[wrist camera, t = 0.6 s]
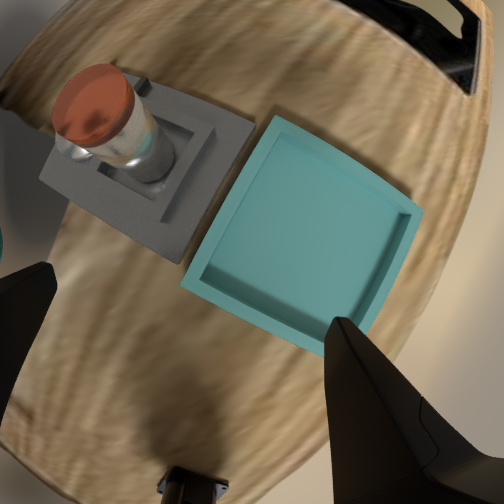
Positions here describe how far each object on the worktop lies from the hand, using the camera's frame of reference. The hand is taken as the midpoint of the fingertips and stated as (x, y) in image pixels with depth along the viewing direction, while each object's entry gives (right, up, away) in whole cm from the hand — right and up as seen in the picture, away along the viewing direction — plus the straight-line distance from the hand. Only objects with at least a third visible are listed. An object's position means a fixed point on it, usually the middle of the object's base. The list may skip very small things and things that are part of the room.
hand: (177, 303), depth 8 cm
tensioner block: (-7, +10, +12) cm, 17 cm away
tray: (+7, +2, +13) cm, 15 cm away
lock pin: (-6, +9, +12) cm, 16 cm away
